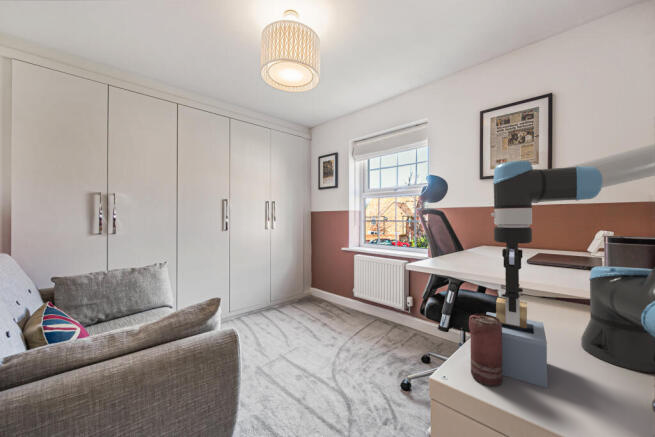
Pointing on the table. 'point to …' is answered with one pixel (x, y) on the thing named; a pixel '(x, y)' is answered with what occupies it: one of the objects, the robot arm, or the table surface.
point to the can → (486, 349)
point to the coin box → (524, 352)
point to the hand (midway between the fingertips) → (512, 320)
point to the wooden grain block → (502, 312)
